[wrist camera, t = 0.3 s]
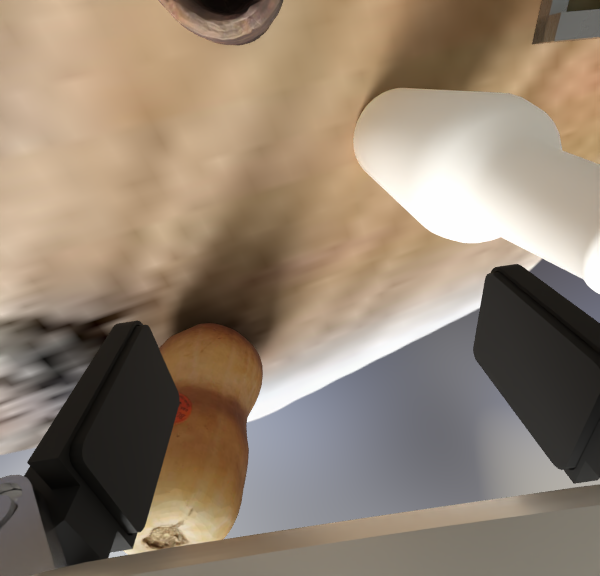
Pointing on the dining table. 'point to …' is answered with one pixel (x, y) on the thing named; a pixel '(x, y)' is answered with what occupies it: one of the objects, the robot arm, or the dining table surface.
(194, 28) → the brown bust statue
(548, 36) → the vise bed
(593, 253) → the alcohol
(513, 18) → the dining table surface
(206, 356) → the butternut squash
